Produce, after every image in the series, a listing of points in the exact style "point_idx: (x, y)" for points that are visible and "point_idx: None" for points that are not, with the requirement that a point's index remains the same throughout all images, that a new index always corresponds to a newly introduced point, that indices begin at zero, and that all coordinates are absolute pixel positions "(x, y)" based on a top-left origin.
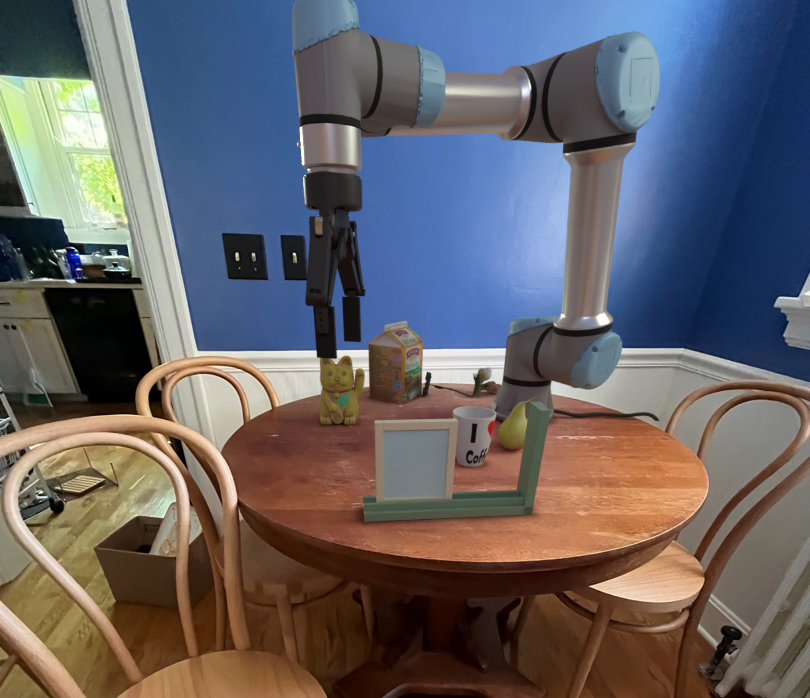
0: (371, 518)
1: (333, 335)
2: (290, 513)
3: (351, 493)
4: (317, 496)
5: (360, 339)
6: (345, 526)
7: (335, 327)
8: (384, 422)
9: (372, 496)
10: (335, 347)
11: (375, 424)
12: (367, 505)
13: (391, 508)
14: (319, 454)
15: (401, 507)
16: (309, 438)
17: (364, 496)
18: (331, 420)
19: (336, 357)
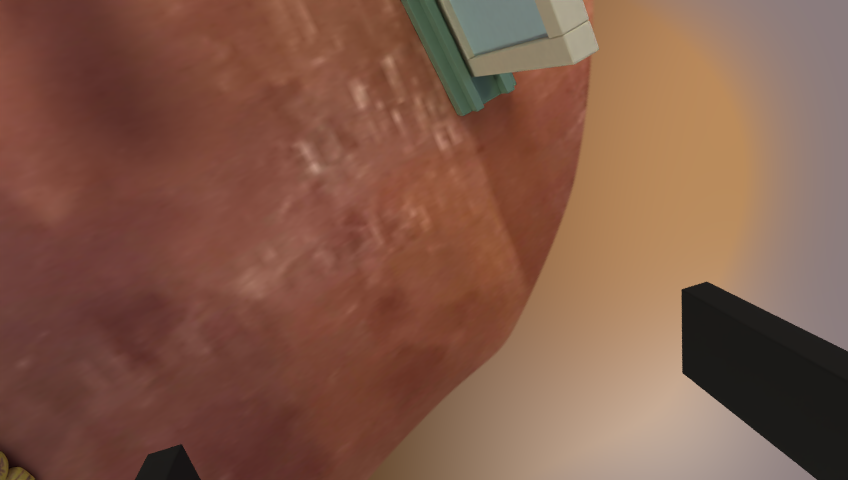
0: None
1: (826, 345)
2: (525, 239)
3: (401, 177)
4: (444, 235)
5: (163, 460)
6: (535, 114)
7: (846, 379)
8: (586, 16)
9: (472, 88)
10: (747, 308)
11: (597, 48)
12: (511, 81)
13: None
14: (240, 361)
15: None
16: (158, 443)
17: (478, 107)
18: (8, 474)
19: (694, 287)
